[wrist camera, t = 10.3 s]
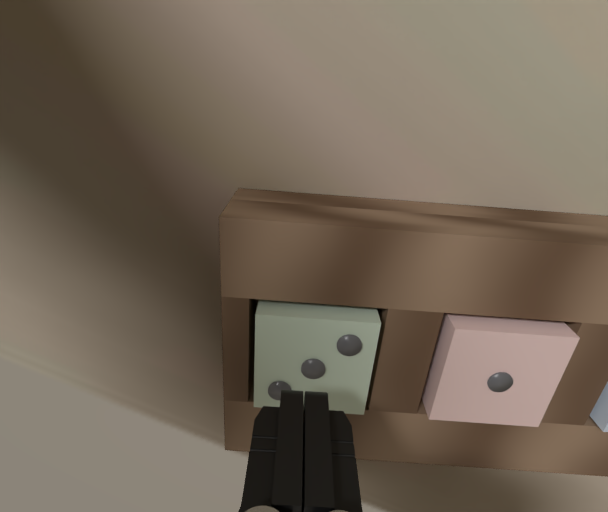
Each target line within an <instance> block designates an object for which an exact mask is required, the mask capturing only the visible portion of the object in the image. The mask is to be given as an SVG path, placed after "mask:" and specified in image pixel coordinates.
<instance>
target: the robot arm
mask: <svg viewBox="0 0 608 512" xmlns="http://www.w3.org/2000/svg"><path fill="white" fill-rule="evenodd" d="M353 442H354V441H353V432H352V425H351V423H350V422H349V420H348V418H347V416H346V415H345V413H344V411H335V410H329V403H328V393H327V392H313V391H305V395H304V404H303V391H296V390H281V398H280V407H271V406H263V407H262V409H261V410H260V412H259V413H258V415H257V416H256V418H255V420H254V426H253V433H252V439H251V446H250V452H249V459H248V465H247V472H246V478H245V485H244V491H243V497H242V503H241V507H240V509H239V512H362V506H361V498H360V490H359V481H358V473H357V465H356V458H355V449H354V444H353Z"/></svg>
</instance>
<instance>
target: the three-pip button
mask: <svg viewBox="0 0 608 512" xmlns="http://www.w3.org/2000/svg"><path fill="white" fill-rule="evenodd" d="M380 327H381V321H380V317H379V314H378V310H377V308H372V307H358V306H344V305H330V304H317V303H303V302H289V301H275V300H261V299H259V301H258V306H257V310H256V314H255V357H254V407H260V408H262V407H263V406H271V407H280V398H281V390H296V391H303V404H304V395H305V391H313V392H327V393H328V403H329V410H335V411H344V413H345V414H360V415H364V411H365V406H366V401H367V396H368V390H369V385H370V380H371V375H372V369H373V364H374V359H375V353H376V348H377V343H378V338H379V332H380Z"/></svg>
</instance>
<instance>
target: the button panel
mask: <svg viewBox="0 0 608 512" xmlns="http://www.w3.org/2000/svg"><path fill="white" fill-rule="evenodd" d="M219 238H220V276H221V313H222V350H223V387H224V425H225V450H232V451H247V452H250V446H251V439H252V433H253V426H254V420H255V418H256V416H257V415H258V413H259V412H260V410H261V409H262V408H260V407H254V357H255V314H256V310H257V306H258V301H259V299H261V300H275V301H289V302H303V303H317V304H330V305H344V306H358V307H372V308H377V310H378V314H379V317H380V321H381V327H380V332H379V338H378V343H377V348H376V353H375V359H374V364H373V369H372V375H371V380H370V385H369V390H368V396H367V401H366V406H365V411H364V415H360V414H345V415H346V416H347V418H348V420H349V422H350V423H351V425H352V432H353V441H354V442H353V444H354V449H355V458H356V459H363V460H377V461H392V462H406V463H421V464H435V465H450V466H464V467H479V468H493V469H508V470H522V471H537V472H551V473H566V474H580V475H595V476H608V432H603V431H602V430H601V429H600V428H599V426H598V425H597V424H596V423H595V422H594V420H593V419H592V418H591V417H590V413H591V412H592V410H593V408H594V406H595V404H596V402H597V400H598V399H599V397H600V395H601V393H602V391H603V389H604V387H605V386H606V384H607V382H608V216H601V215H587V214H574V213H561V212H547V211H534V210H521V209H507V208H494V207H481V206H467V205H454V204H441V203H427V202H414V201H401V200H387V199H374V198H361V197H347V196H334V195H321V194H307V193H294V192H281V191H267V190H254V189H241V188H238V190H237V191H236V193H235V194H234V196H233V197H232V198H231V200H230V201H229V203H228V204H227V206H226V207H225V209H224V210H223V212H222V213H221V215H220V216H219ZM444 313H454V314H468V315H482V316H496V317H510V318H523V319H537V320H551V321H563V322H564V323H565V324H566V325H567V326H568V327H569V328H570V329H571V330H572V331H573V332H574V333H575V334H576V335H577V336H579V337H580V339H579V341H578V343H577V346H576V348H575V350H574V352H573V354H572V356H571V358H570V360H569V363H568V365H567V367H566V369H565V371H564V373H563V375H562V378H561V380H560V382H559V384H558V386H557V388H556V390H555V392H554V395H553V397H552V399H551V401H550V403H549V405H548V407H547V410H546V412H545V414H544V416H543V418H542V420H541V422H540V424H539V427H530V426H515V425H501V424H487V423H472V422H458V421H444V420H430V419H428V416H427V413H426V410H425V407H424V404H423V401H422V398H421V396H422V392H423V388H424V385H425V381H426V377H427V374H428V370H429V366H430V363H431V359H432V355H433V352H434V348H435V344H436V341H437V337H438V333H439V329H440V326H441V322H442V318H443V315H444Z"/></svg>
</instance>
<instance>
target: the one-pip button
mask: <svg viewBox="0 0 608 512" xmlns="http://www.w3.org/2000/svg"><path fill="white" fill-rule="evenodd" d="M579 339H580V337H579V336H577V335H576V334H575V333H574V332H573V331H572V330H571V329H570V328H569V327H568V326H567V325H566V324H565V323H564V322H563V321H551V320H537V319H523V318H510V317H496V316H482V315H468V314H454V313H444V315H443V318H442V322H441V326H440V329H439V333H438V337H437V341H436V344H435V348H434V352H433V355H432V359H431V363H430V366H429V370H428V374H427V377H426V381H425V385H424V388H423V392H422V396H421V398H422V401H423V404H424V407H425V410H426V413H427V416H428V419H430V420H444V421H458V422H472V423H487V424H501V425H515V426H530V427H539V424H540V422H541V420H542V418H543V416H544V414H545V412H546V410H547V407H548V405H549V403H550V401H551V399H552V397H553V395H554V392H555V390H556V388H557V386H558V384H559V382H560V380H561V378H562V375H563V373H564V371H565V369H566V367H567V365H568V363H569V360H570V358H571V356H572V354H573V352H574V350H575V348H576V346H577V343H578V341H579Z"/></svg>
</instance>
